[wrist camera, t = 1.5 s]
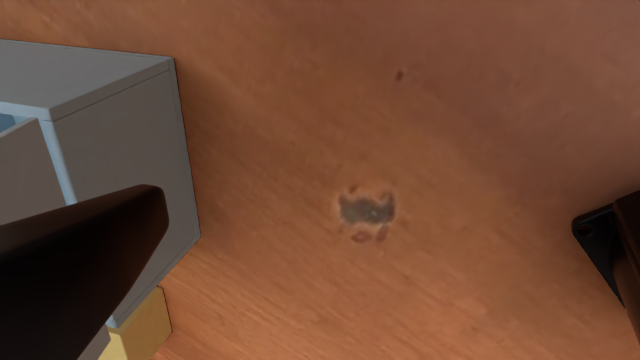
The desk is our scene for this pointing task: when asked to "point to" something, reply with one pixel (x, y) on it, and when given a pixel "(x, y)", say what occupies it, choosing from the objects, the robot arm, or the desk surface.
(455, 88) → the desk surface
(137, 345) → the block
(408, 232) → the desk surface
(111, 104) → the box
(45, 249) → the robot arm
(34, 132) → the flap
